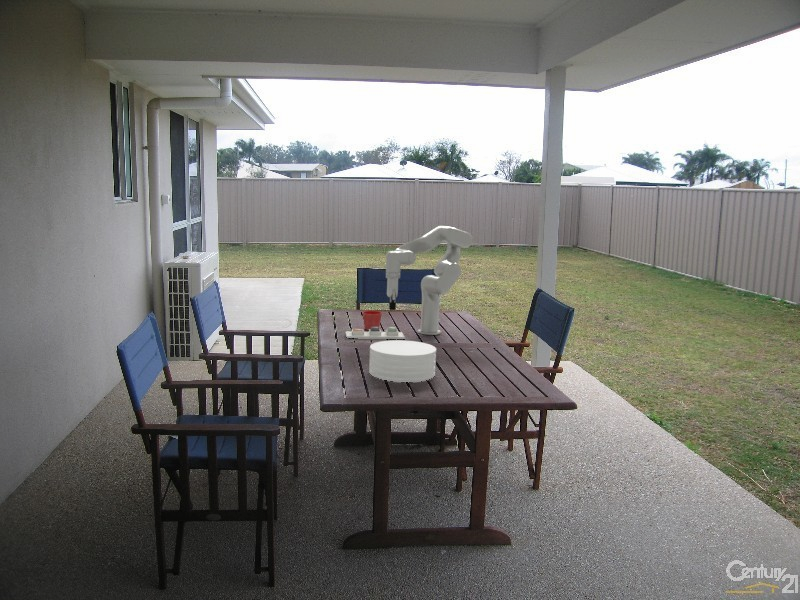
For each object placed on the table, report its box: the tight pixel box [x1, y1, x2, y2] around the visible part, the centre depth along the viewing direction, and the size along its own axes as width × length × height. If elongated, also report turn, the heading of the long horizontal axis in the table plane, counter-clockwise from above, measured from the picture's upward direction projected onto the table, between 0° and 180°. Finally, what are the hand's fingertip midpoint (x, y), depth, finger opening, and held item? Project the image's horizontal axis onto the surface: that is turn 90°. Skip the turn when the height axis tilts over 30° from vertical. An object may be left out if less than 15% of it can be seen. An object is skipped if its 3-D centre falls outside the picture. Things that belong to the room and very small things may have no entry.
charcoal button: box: [371, 326, 380, 331], centre depth 366 cm, size 4×4×2 cm
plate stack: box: [368, 339, 437, 384], centre depth 296 cm, size 28×28×12 cm
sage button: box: [387, 326, 397, 332], centre depth 367 cm, size 4×4×2 cm
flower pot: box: [362, 310, 383, 331], centre depth 384 cm, size 11×11×10 cm
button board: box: [345, 328, 406, 340], centre depth 366 cm, size 12×30×4 cm, turn 97°
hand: (392, 309), depth 366 cm, fingers closed
